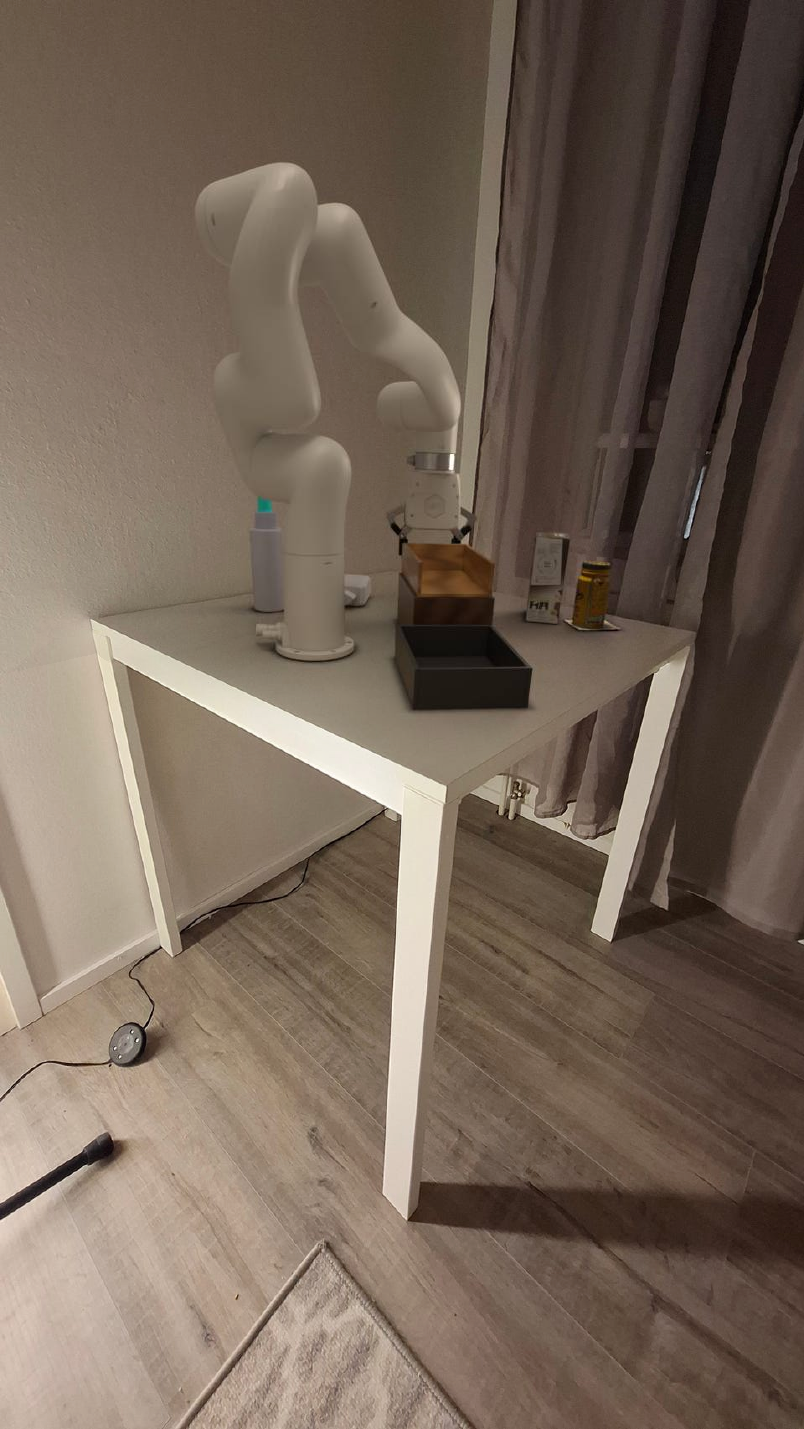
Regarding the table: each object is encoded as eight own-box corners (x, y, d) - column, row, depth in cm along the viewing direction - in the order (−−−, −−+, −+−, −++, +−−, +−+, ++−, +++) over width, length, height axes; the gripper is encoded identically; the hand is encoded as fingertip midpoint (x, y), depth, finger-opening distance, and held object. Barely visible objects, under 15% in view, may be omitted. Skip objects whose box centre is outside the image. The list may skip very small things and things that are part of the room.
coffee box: (558, 624, 119) (571, 538, 112) (525, 621, 120) (535, 536, 113) (557, 613, 127) (568, 532, 120) (525, 610, 128) (535, 530, 121)
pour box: (457, 567, 121) (459, 539, 119) (491, 597, 98) (495, 563, 95) (397, 566, 120) (398, 537, 118) (417, 597, 96) (418, 562, 94)
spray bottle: (291, 609, 122) (287, 492, 114) (268, 614, 118) (261, 493, 109) (271, 603, 126) (265, 489, 117) (247, 608, 121) (240, 490, 112)
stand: (411, 652, 100) (414, 597, 96) (397, 619, 118) (398, 572, 114) (489, 652, 101) (494, 598, 98) (463, 619, 119) (467, 573, 116)
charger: (314, 612, 121) (328, 594, 135) (360, 614, 120) (370, 597, 134) (313, 588, 119) (328, 573, 133) (360, 590, 119) (370, 575, 132)
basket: (412, 709, 78) (414, 669, 76) (394, 658, 97) (395, 624, 94) (527, 707, 80) (532, 668, 78) (488, 657, 99) (492, 624, 96)
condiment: (563, 620, 122) (572, 559, 117) (603, 620, 123) (614, 559, 118) (579, 631, 115) (589, 566, 110) (621, 630, 116) (632, 566, 111)
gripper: (389, 462, 107) (386, 562, 114) (485, 466, 109) (477, 564, 116) (384, 461, 114) (382, 555, 121) (476, 465, 116) (468, 557, 123)
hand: (428, 560), depth 118 cm, fingers open, 9 cm apart
